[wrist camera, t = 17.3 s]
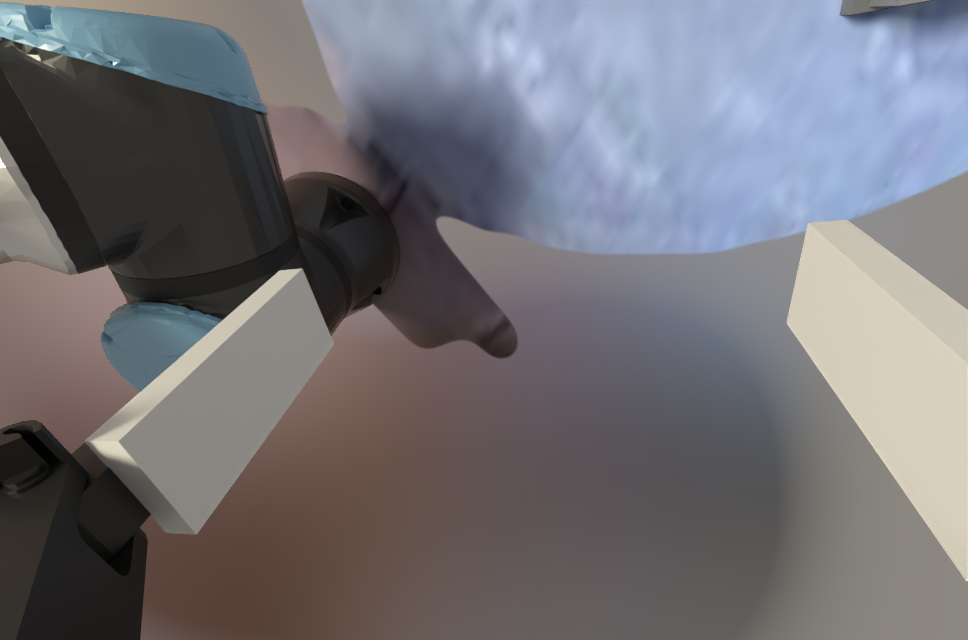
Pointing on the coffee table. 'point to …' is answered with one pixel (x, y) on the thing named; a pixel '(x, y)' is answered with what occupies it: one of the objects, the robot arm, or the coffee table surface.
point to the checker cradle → (872, 5)
